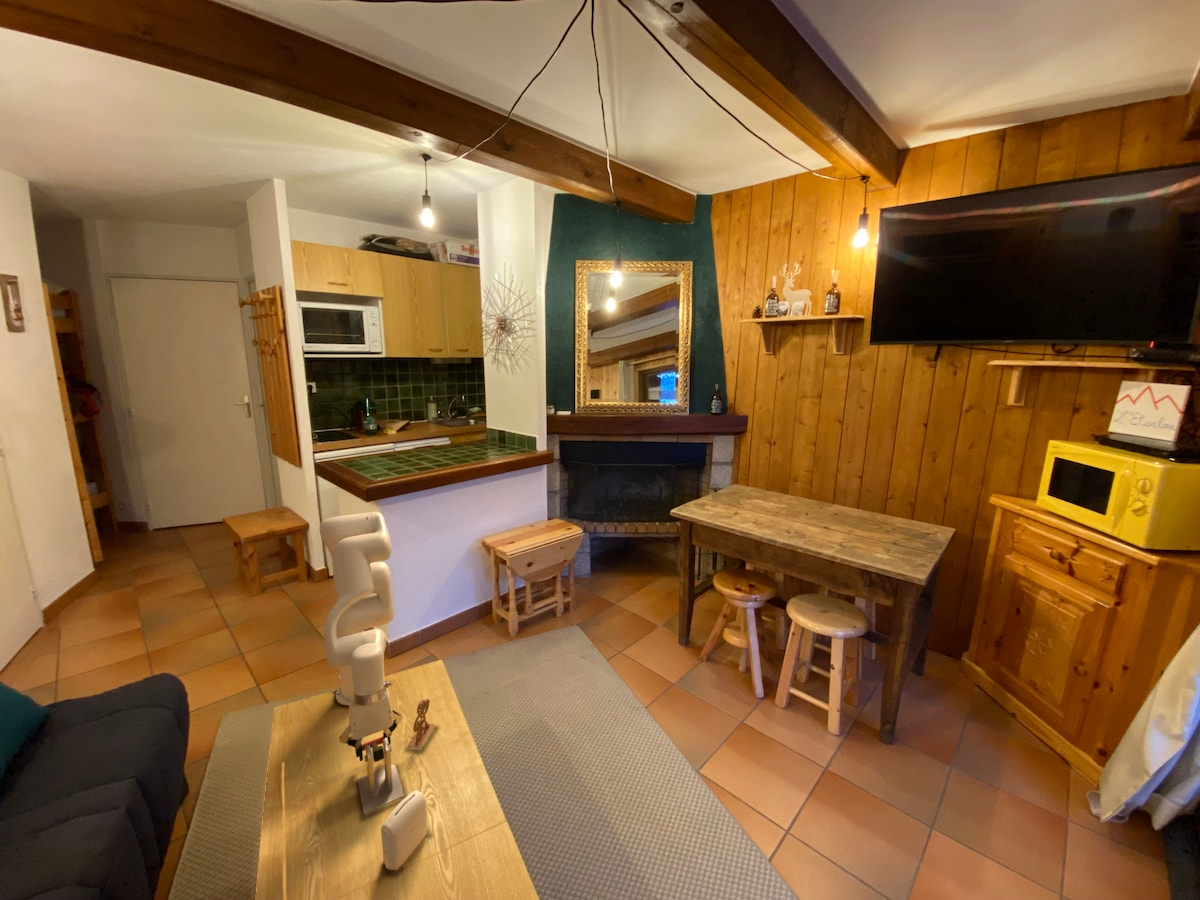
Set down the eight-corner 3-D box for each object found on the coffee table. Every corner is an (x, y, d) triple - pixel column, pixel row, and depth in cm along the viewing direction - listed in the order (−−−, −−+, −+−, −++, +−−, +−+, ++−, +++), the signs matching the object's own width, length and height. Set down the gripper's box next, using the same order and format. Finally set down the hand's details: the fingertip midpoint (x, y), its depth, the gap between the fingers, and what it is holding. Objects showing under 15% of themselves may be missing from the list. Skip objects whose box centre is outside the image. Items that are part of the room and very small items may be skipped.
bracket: (357, 783, 122) (354, 740, 120) (395, 767, 127) (392, 725, 125) (364, 817, 113) (360, 771, 111) (404, 799, 118) (401, 755, 116)
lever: (361, 752, 125) (360, 742, 126) (384, 743, 128) (383, 733, 129) (367, 765, 115) (365, 754, 116) (391, 755, 118) (390, 745, 119)
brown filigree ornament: (420, 751, 132) (419, 714, 130) (407, 749, 133) (405, 712, 131) (436, 727, 141) (435, 692, 139) (424, 725, 142) (422, 690, 139)
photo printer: (395, 877, 101) (392, 829, 98) (380, 868, 102) (377, 820, 100) (430, 834, 110) (428, 789, 108) (416, 826, 112) (414, 781, 109)
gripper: (401, 673, 131) (404, 730, 135) (330, 695, 122) (335, 756, 125) (407, 688, 125) (410, 748, 129) (333, 714, 116) (338, 777, 119)
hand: (373, 751), depth 127 cm, fingers closed on lever, 5 cm apart
